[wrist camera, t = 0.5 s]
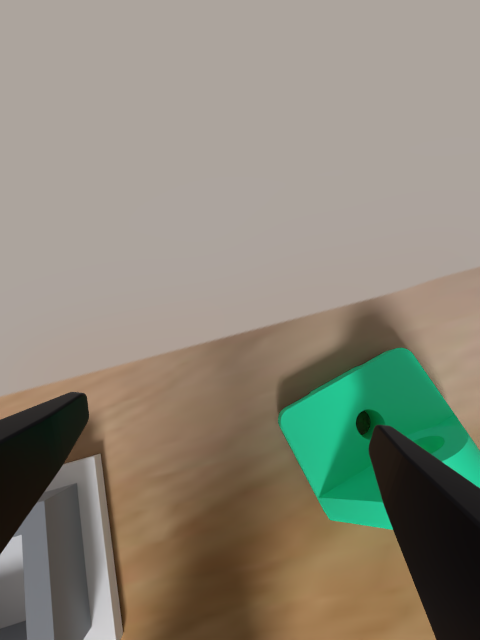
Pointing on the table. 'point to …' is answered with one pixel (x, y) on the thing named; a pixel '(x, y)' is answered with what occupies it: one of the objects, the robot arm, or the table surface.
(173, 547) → the table surface
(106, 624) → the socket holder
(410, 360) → the camera mount
